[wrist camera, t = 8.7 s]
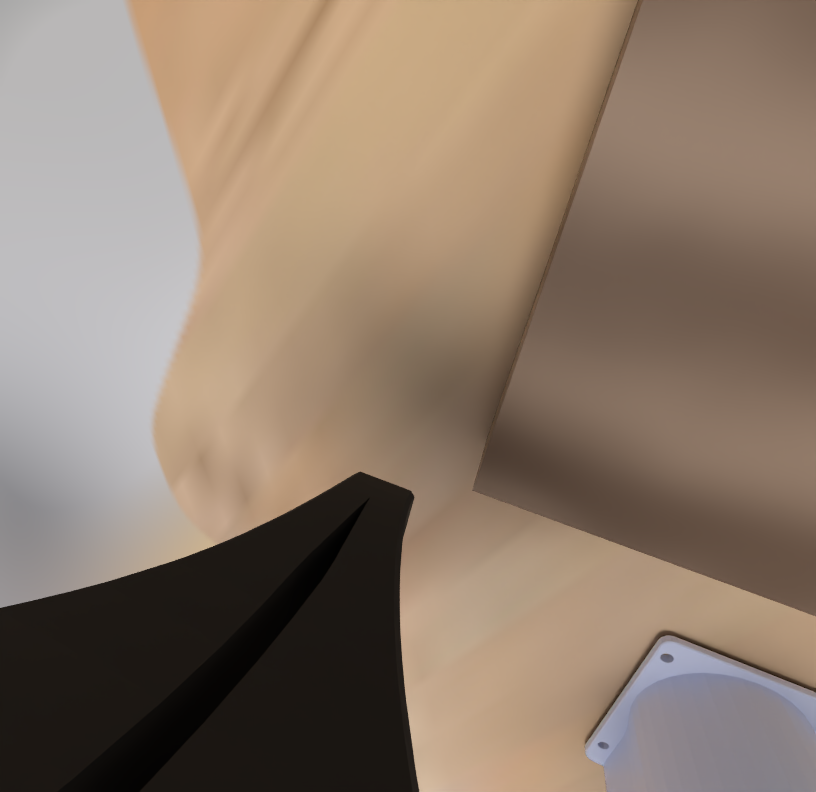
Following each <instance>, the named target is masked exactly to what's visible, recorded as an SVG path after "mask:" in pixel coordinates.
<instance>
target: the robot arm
mask: <svg viewBox="0 0 816 792" xmlns="http://www.w3.org/2000/svg"><path fill="white" fill-rule="evenodd" d="M413 500H414V495H413V494H412V492H411V491H410V490H407V489H405V488H402V487H399V486H397V485H394V484H391V483H389V482H386V481H383V480H381V479H378V478H376V477H373V476H370V475H368V474H365V473H362V472H358V473H356V474H354V475H352V476H351V477H349V478H347V479H346V480H344V481H342V482H341V483H339V484H337V485H336V486H334V487H332V488H330V489H329V490H327V491H325V492H324V493H322V494H320V495H318V496H317V497H315V498H313V499H311V500H309V501H307V502H306V503H304V504H302V505H300V506H298V507H296V508H294V509H293V510H291V511H289V512H287V513H285V514H283V515H281V516H279V517H277V518H275V519H273V520H271V521H269V522H267V523H265V524H262V525H260V526H258V527H256V528H254V529H252V530H250V531H248V532H246V533H243V534H241V535H239V536H237V537H234V538H232V539H230V540H227V541H225V542H223V543H220V544H218V545H215V546H213V547H210V548H208V549H205V550H202V551H200V552H197V553H195V554H192V555H189V556H187V557H184V558H181V559H178V560H175V561H172V562H169V563H166V564H163V565H160V566H157V567H153V568H150V569H147V570H144V571H141V572H137V573H134V574H131V575H128V576H125V577H121V578H118V579H115V580H112V581H108V582H105V583H101V584H97V585H94V586H90V587H86V588H82V589H79V590H74V591H71V592H67V593H63V594H58V595H54V596H50V597H46V598H42V599H38V600H33V601H29V602H25V603H20V604H16V605H11V606H7V607H3V608H0V792H419V788H418V782H417V776H416V770H415V763H414V755H413V748H412V741H411V733H410V726H409V719H408V712H407V704H406V696H405V686H404V675H403V665H402V651H401V635H400V565H401V552H402V541H403V536H404V532H405V529H406V525H407V522H408V518H409V515H410V511H411V508H412V504H413ZM663 654H668V655H663ZM585 754H586V756H587V757H588V758H589V759H590V760H592V761H594V762H596V763H598V764H600V765H602V766H604V774H605V782H606V791H607V792H816V692H814V691H811V690H808V689H806V688H803V687H801V686H798V685H796V684H793V683H791V682H788V681H786V680H783V679H781V678H778V677H776V676H773V675H771V674H768V673H766V672H763V671H761V670H758V669H755V668H753V667H750V666H748V665H745V664H743V663H740V662H738V661H735V660H733V659H730V658H728V657H725V656H723V655H720V654H718V653H715V652H713V651H710V650H708V649H705V648H702V647H700V646H697V645H695V644H692V643H690V642H687V641H685V640H682V639H680V638H677V637H674V636H670V635H667V636H663V637H661V638H660V639H658V641H657V642H656V644H655V645H654V647H653V648H652V649H651V651H650V652H649V654H648V655H647V657H646V658H645V660H644V661H643V662H642V664H641V665H640V667H639V668H638V670H637V671H636V672H635V674H634V675H633V677H632V678H631V680H630V681H629V683H628V684H627V685H626V687H625V688H624V690H623V691H622V693H621V694H620V695H619V697H618V698H617V700H616V701H615V703H614V704H613V706H612V707H611V708H610V710H609V711H608V713H607V714H606V716H605V717H604V719H603V720H602V721H601V723H600V724H599V726H598V727H597V729H596V730H595V731H594V733H593V734H592V736H591V737H590V739H589V740H588V742H587V743H586V744H585Z"/></svg>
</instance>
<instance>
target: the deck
mask: <svg viewBox="0 0 816 792" xmlns="http://www.w3.org/2000/svg"><path fill="white" fill-rule="evenodd" d="M473 491H475V492H478V493H481V494H484V495H486V496H489V497H492V498H494V499H497V500H500V501H503V502H505V503H508V504H511V505H514V506H516V507H519V508H522V509H525V510H527V511H530V512H533V513H535V514H538V515H541V516H544V517H546V518H549V519H552V520H555V521H557V522H560V523H563V524H565V525H568V526H571V527H574V528H576V529H579V530H582V531H585V532H587V533H590V534H593V535H596V536H598V537H601V538H604V539H606V540H609V541H612V542H615V543H617V544H620V545H623V546H626V547H628V548H631V549H634V550H636V551H639V552H642V553H645V554H647V555H650V556H653V557H656V558H658V559H661V560H664V561H667V562H669V563H672V564H675V565H677V566H680V567H683V568H686V569H688V570H691V571H694V572H697V573H699V574H702V575H705V576H707V577H710V578H713V579H716V580H718V581H721V582H724V583H727V584H729V585H732V586H735V587H738V588H740V589H743V590H746V591H748V592H751V593H754V594H757V595H759V596H762V597H765V598H768V599H770V600H773V601H776V602H778V603H781V604H784V605H787V606H789V607H792V608H795V609H798V610H800V611H803V612H806V613H809V614H811V615H814V616H816V0H638V2H637V5H636V8H635V11H634V14H633V17H632V20H631V23H630V26H629V28H628V31H627V34H626V37H625V40H624V43H623V46H622V49H621V52H620V55H619V57H618V60H617V63H616V66H615V69H614V72H613V75H612V78H611V81H610V84H609V86H608V89H607V92H606V95H605V98H604V101H603V104H602V107H601V110H600V113H599V116H598V118H597V121H596V124H595V127H594V130H593V133H592V136H591V139H590V142H589V145H588V147H587V150H586V153H585V156H584V159H583V162H582V165H581V168H580V171H579V174H578V176H577V179H576V182H575V185H574V188H573V191H572V194H571V197H570V200H569V203H568V206H567V208H566V211H565V214H564V217H563V220H562V223H561V226H560V229H559V232H558V235H557V237H556V240H555V243H554V246H553V249H552V252H551V255H550V258H549V261H548V264H547V266H546V269H545V272H544V275H543V278H542V281H541V284H540V287H539V290H538V293H537V296H536V298H535V301H534V304H533V307H532V310H531V313H530V316H529V319H528V322H527V325H526V327H525V330H524V333H523V336H522V339H521V342H520V345H519V348H518V351H517V354H516V356H515V359H514V362H513V365H512V368H511V371H510V374H509V377H508V380H507V383H506V386H505V388H504V391H503V394H502V397H501V400H500V403H499V406H498V409H497V412H496V415H495V417H494V420H493V423H492V426H491V429H490V432H489V435H488V438H487V441H486V444H485V448H484V451H483V455H482V458H481V462H480V465H479V469H478V472H477V476H476V480H475V483H474V487H473Z"/></svg>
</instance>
